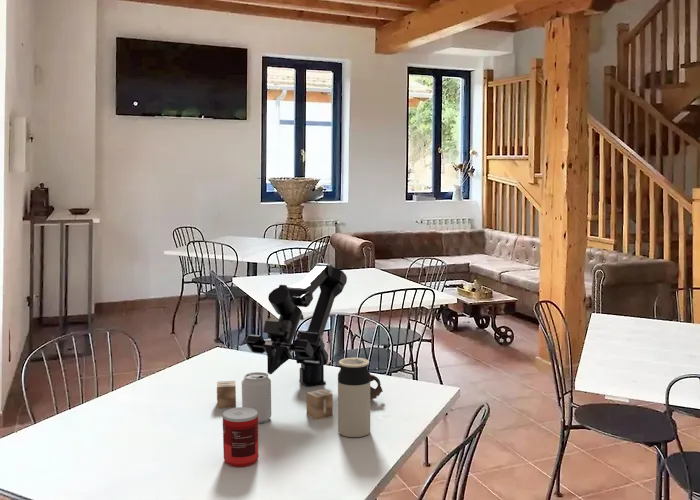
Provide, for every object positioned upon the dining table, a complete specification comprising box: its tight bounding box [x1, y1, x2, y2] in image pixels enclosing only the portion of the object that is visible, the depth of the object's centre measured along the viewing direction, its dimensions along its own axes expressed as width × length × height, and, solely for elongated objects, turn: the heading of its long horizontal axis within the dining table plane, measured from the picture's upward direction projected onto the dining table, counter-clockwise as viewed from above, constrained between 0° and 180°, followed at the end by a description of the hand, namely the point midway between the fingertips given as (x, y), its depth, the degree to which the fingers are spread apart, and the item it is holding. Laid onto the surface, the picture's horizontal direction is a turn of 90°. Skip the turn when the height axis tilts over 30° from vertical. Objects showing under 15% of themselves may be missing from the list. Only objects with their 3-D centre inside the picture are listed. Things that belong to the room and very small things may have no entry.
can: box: [241, 371, 272, 424], centre depth 178 cm, size 8×8×12 cm
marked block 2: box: [305, 388, 334, 421], centre depth 181 cm, size 5×5×6 cm
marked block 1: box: [216, 380, 237, 409], centre depth 190 cm, size 5×5×6 cm
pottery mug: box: [370, 373, 384, 401], centre depth 194 cm, size 12×9×8 cm
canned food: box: [222, 406, 259, 468], centre depth 153 cm, size 8×8×11 cm
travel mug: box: [337, 357, 371, 438], centre depth 169 cm, size 8×8×18 cm
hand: (269, 373), depth 184 cm, fingers closed
